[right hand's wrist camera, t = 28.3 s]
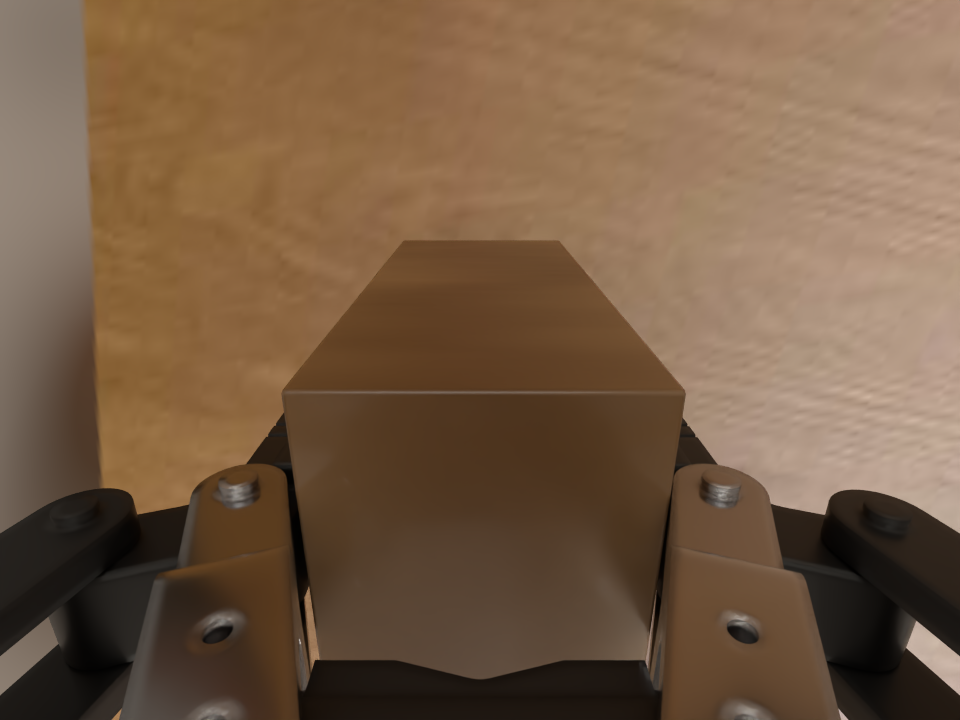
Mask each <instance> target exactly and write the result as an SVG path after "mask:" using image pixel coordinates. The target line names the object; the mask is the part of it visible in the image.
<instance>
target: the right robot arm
mask: <svg viewBox="0 0 960 720" xmlns="http://www.w3.org/2000/svg"><path fill="white" fill-rule="evenodd" d="M308 587H309V581H308V574H307V567H306V560H305V553H304V546H303V539H302V532H301V525H300V518H299V511H298V505H297V498H296V491H295V484H294V477H293V470H292V463H291V456H290V449H289V442H288V435H287V428H286V421H285V414H284V413H283V415H282V416H281V417H280V419H279V420H278V421H277V423H276V426H274V427H273V428H272V430H271V431H270V432H269V434H268V437H266V438H265V439H264V441H263V442H262V443H261V445H260V446H259V447H258V449H257V450H256V451H255V453H254V454H253V456H252V457H251V458H250V460H249V461H248V462H247V464H245V465H239V466H235V467H231V468H228V469H225V470H222V471H220V472H217V473H215V474H213V475H211V476H210V477H208V478H206V479H205V480H203V481H202V482H201V483H200V484H199V485H198V486H197V487H196V488H195V489H194V491H193V492H192V495H191V499H190V504H189V505H185V506H181V507H176V508H171V509H165V510H160V511H155V512H149V513H144V514H139V515H137V512H136V508H135V505H134V501H133V498H132V496H131V495H130V494H129V493H128V492H126V491H123V490H119V489H112V488H102V489H94V490H88V491H83V492H79V493H75V494H72V495H69V496H66V497H64V498H61V499H58V500H56V501H54V502H52V503H50V504H48V505H46V506H44V507H42V508H41V509H39V510H37V511H36V512H34V513H33V514H31V515H29V516H28V517H26V518H24V519H23V520H21V521H20V522H18V523H16V524H15V525H13V526H12V527H10V528H8V529H7V530H5V531H4V532H2V533H0V656H1V655H2V654H3V653H4V652H6V651H7V650H8V649H9V648H11V647H12V646H13V645H14V644H16V643H17V642H18V641H19V640H20V639H22V638H23V637H24V636H25V635H26V634H28V633H29V632H30V631H31V630H33V629H34V628H35V627H36V626H37V625H39V624H40V623H41V622H42V621H44V620H45V619H46V618H47V617H49V619H50V622H51V625H52V627H53V630H54V633H55V635H56V638H57V641H58V643H59V644H58V645H57V646H56V647H55V648H53V649H52V650H51V651H50V652H49V653H48V654H47V655H46V656H44V657H43V658H42V659H41V660H40V661H39V662H38V663H36V664H35V665H34V666H33V667H32V668H31V669H30V670H29V671H27V672H26V673H25V674H24V675H23V676H22V677H21V678H20V679H18V680H17V681H16V682H15V683H14V684H13V685H12V686H10V687H9V688H8V689H7V690H6V691H5V692H4V693H2V694H1V695H0V720H112V718H113V717H114V716H115V715H116V714H117V713H118V712H119V711H120V709H121V708H122V710H121V714H120V718H119V720H841V718H840V714H839V710H838V708H839V709H840V711H841V712H842V713H843V714H844V715H845V716H846V717H847V718H848V720H960V695H959V694H958V693H956V692H955V691H954V690H953V689H952V688H951V687H950V686H948V685H947V684H946V683H945V682H944V681H943V680H942V679H941V678H939V677H938V676H937V675H936V674H935V673H934V672H933V671H931V670H930V669H929V668H928V667H927V666H926V665H925V664H924V663H922V662H921V661H920V660H919V659H918V658H917V657H916V656H915V655H913V654H912V653H911V652H910V651H909V650H908V649H907V648H906V646H907V644H908V641H909V638H910V636H911V633H912V630H913V628H914V625H915V623H916V621H918V622H919V623H920V624H921V625H923V626H924V627H925V628H926V629H927V630H929V631H930V632H931V633H932V634H934V635H935V636H936V637H937V638H938V639H940V640H941V641H942V642H943V643H944V644H946V645H947V646H948V647H949V648H951V649H952V650H953V651H954V652H955V653H957V654H958V655H959V656H960V533H958V532H956V531H955V530H953V529H952V528H950V527H948V526H947V525H945V524H944V523H942V522H940V521H939V520H937V519H936V518H934V517H932V516H931V515H929V514H928V513H926V512H924V511H923V510H921V509H919V508H917V507H916V506H914V505H912V504H909V503H907V502H905V501H903V500H900V499H898V498H895V497H892V496H889V495H885V494H881V493H877V492H872V491H865V490H844V491H840V492H837V493H835V494H834V495H832V496H831V498H830V500H829V503H828V506H827V510H826V514H825V515H821V514H816V513H811V512H805V511H800V510H795V509H790V508H785V507H780V506H776V505H773V504H770V499H769V495H768V492H767V491H766V489H765V488H764V487H763V486H762V485H761V484H760V483H759V482H758V481H757V480H755V479H754V478H752V477H750V476H749V475H747V474H745V473H743V472H740V471H738V470H735V469H732V468H729V467H725V466H721V465H718V464H717V463H716V462H715V460H714V459H713V458H712V456H711V455H710V454H709V452H708V451H707V450H706V448H705V447H704V446H703V444H702V443H701V442H700V440H699V439H698V438H697V437H695V434H694V432H693V431H692V430H691V428H690V427H689V426H687V423H686V421H685V420H684V419H683V417H682V422H681V429H680V436H679V442H678V449H677V456H676V462H675V469H674V476H673V482H672V489H671V495H670V502H669V509H668V515H667V522H666V529H665V535H664V542H663V549H662V555H661V562H660V569H659V575H658V582H657V588H656V590H657V591H656V597H655V604H654V610H653V621H652V632H651V642H650V653H649V664H648V669H647V665H646V662H645V660H562V661H558V662H554V663H550V664H546V665H542V666H538V667H533V668H529V669H525V670H521V671H517V672H513V673H509V674H505V675H501V676H497V677H492V678H488V679H472V678H468V677H463V676H459V675H455V674H451V673H447V672H443V671H439V670H435V669H431V668H427V667H422V666H418V665H414V664H410V663H406V662H402V661H398V660H315V662H314V665H313V669H312V664H311V653H310V642H309V632H308V621H307V610H306V604H305V595H306V592H307V590H308Z"/></svg>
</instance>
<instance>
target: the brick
mask: <svg viewBox="0 0 960 720" xmlns="http://www.w3.org/2000/svg"><path fill="white" fill-rule="evenodd" d="M685 396H686V393H685V390H684V389H683V388H682V386H681V385H680V384H679V383H678V382H677V380H676V379H675V378H674V377H673V376H672V374H671V373H670V372H669V371H668V370H667V368H666V367H665V366H664V365H663V364H662V363H661V361H660V360H659V359H658V358H657V357H656V355H655V354H654V353H653V352H652V351H651V349H650V348H649V347H648V346H647V345H646V344H645V342H644V341H643V340H642V339H641V338H640V336H639V335H638V334H637V333H636V332H635V330H634V329H633V328H632V327H631V326H630V325H629V323H628V322H627V321H626V320H625V319H624V317H623V316H622V315H621V314H620V313H619V311H618V310H617V309H616V308H615V307H614V306H613V304H612V303H611V302H610V301H609V300H608V298H607V297H606V296H605V295H604V294H603V292H602V291H601V290H600V289H599V288H598V287H597V285H596V284H595V283H594V282H593V281H592V279H591V278H590V277H589V276H588V275H587V273H586V272H585V271H584V270H583V269H582V268H581V266H580V265H579V264H578V263H577V262H576V260H575V259H574V258H573V257H572V256H571V254H570V253H569V252H568V251H567V250H566V249H565V247H564V246H563V245H562V244H561V243H560V241H403V242H402V244H401V245H400V246H399V247H398V248H397V250H396V251H395V252H394V253H393V255H392V256H391V257H390V258H389V260H388V261H387V262H386V263H385V264H384V266H383V267H382V268H381V269H380V271H379V272H378V273H377V274H376V276H375V277H374V278H373V279H372V281H371V282H370V283H369V284H368V285H367V287H366V288H365V289H364V290H363V292H362V293H361V294H360V295H359V297H358V298H357V299H356V300H355V301H354V303H353V304H352V305H351V306H350V308H349V309H348V310H347V311H346V313H345V314H344V315H343V316H342V317H341V319H340V320H339V321H338V322H337V324H336V325H335V326H334V327H333V329H332V330H331V331H330V332H329V333H328V335H327V336H326V337H325V338H324V340H323V341H322V342H321V343H320V345H319V346H318V347H317V348H316V349H315V351H314V352H313V353H312V354H311V356H310V357H309V358H308V359H307V361H306V362H305V363H304V364H303V366H302V367H301V368H300V369H299V370H298V372H297V373H296V374H295V375H294V377H293V378H292V379H291V380H290V382H289V383H288V384H287V385H286V386H285V388H284V389H283V391H282V401H283V408H284V414H285V421H286V428H287V435H288V442H289V449H290V456H291V463H292V470H293V477H294V484H295V491H296V498H297V505H298V511H299V518H300V525H301V532H302V539H303V546H304V553H305V560H306V567H307V574H308V581H309V588H310V595H311V602H312V609H313V615H314V622H315V629H316V636H317V643H318V650H319V657H320V660H398V661H402V662H406V663H410V664H414V665H418V666H422V667H427V668H431V669H435V670H439V671H443V672H447V673H451V674H455V675H459V676H463V677H468V678H472V679H488V678H492V677H497V676H501V675H505V674H509V673H513V672H517V671H521V670H525V669H529V668H533V667H538V666H542V665H546V664H550V663H554V662H558V661H562V660H645V661H646V655H647V648H648V642H649V635H650V628H651V622H652V615H653V608H654V602H655V595H656V588H657V582H658V575H659V569H660V562H661V555H662V549H663V542H664V535H665V529H666V522H667V515H668V509H669V502H670V495H671V489H672V482H673V476H674V469H675V462H676V456H677V449H678V442H679V436H680V429H681V422H682V416H683V409H684V402H685Z"/></svg>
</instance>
